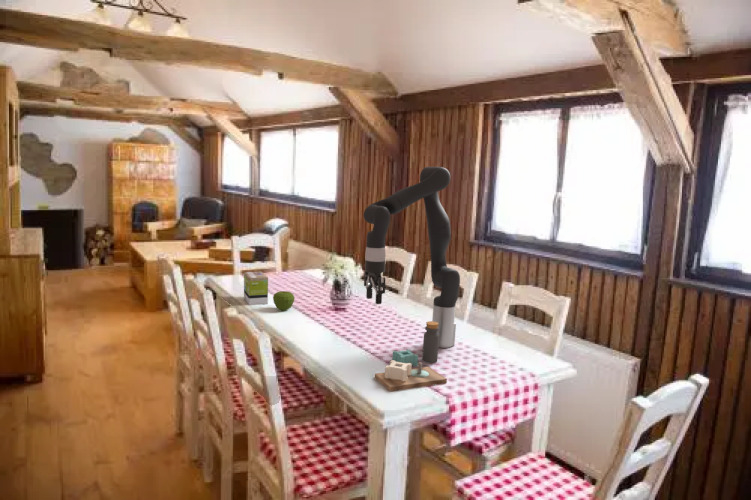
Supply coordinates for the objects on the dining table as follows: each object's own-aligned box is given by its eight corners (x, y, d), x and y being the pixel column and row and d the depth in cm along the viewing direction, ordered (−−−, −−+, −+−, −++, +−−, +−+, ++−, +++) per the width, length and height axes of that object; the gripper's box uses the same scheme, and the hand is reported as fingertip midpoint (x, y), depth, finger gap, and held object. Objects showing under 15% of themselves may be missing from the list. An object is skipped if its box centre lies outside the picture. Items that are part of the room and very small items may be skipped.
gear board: (428, 370, 193) (429, 356, 192) (446, 382, 182) (447, 367, 182) (374, 377, 184) (375, 362, 183) (390, 391, 173) (391, 375, 172)
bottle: (436, 358, 207) (438, 321, 205) (438, 363, 201) (441, 325, 199) (421, 357, 207) (423, 320, 204) (423, 362, 201) (425, 324, 199)
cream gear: (390, 370, 187) (391, 359, 186) (411, 374, 184) (412, 363, 184) (383, 378, 179) (384, 366, 179) (405, 382, 177) (406, 370, 176)
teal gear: (408, 358, 204) (409, 349, 204) (418, 365, 197) (419, 355, 197) (391, 361, 201) (391, 351, 200) (400, 368, 194) (401, 357, 193)
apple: (292, 313, 259) (292, 293, 258) (270, 312, 259) (271, 292, 258) (295, 307, 270) (296, 288, 268) (275, 306, 270) (275, 287, 269)
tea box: (243, 298, 283) (243, 271, 281) (261, 297, 288) (262, 271, 285) (248, 305, 270) (249, 277, 268) (268, 304, 274) (268, 276, 272)
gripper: (392, 261, 192) (390, 305, 194) (376, 255, 204) (375, 296, 207) (373, 262, 189) (372, 306, 191) (358, 256, 201) (357, 297, 204)
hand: (373, 301), depth 199 cm, fingers open, 8 cm apart
